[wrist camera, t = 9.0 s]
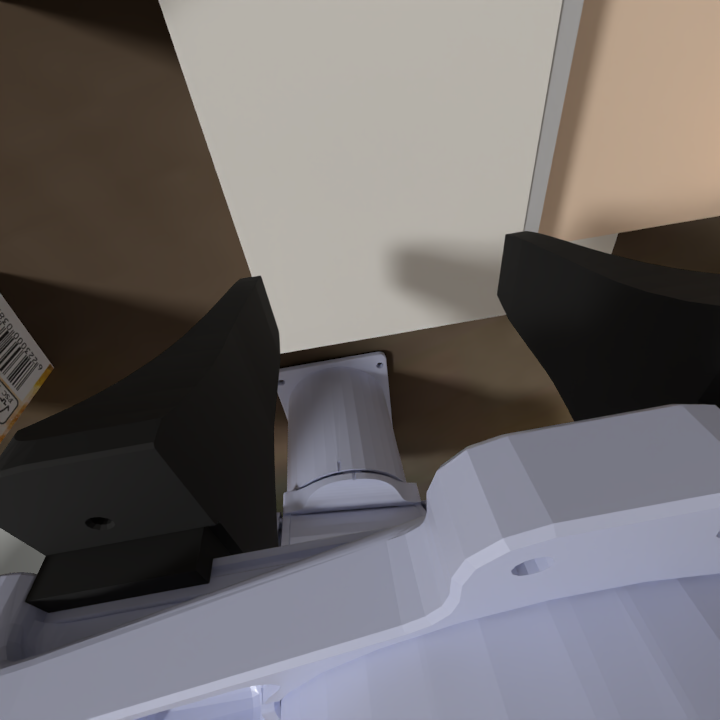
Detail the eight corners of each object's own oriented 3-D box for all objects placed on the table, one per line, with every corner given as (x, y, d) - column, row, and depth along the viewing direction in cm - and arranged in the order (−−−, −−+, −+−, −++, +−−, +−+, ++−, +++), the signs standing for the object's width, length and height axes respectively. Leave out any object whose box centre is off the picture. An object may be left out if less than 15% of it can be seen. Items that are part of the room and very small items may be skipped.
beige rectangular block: (730, 206, 21) (838, 249, 17) (441, 255, 21) (478, 311, 17) (865, -54, 15) (1093, -89, 11) (448, 11, 14) (511, 1, 10)
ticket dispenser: (601, 247, 24) (659, 288, 20) (280, 301, 23) (278, 354, 19) (711, -101, 14) (859, -149, 11) (184, -22, 14) (144, -42, 10)
